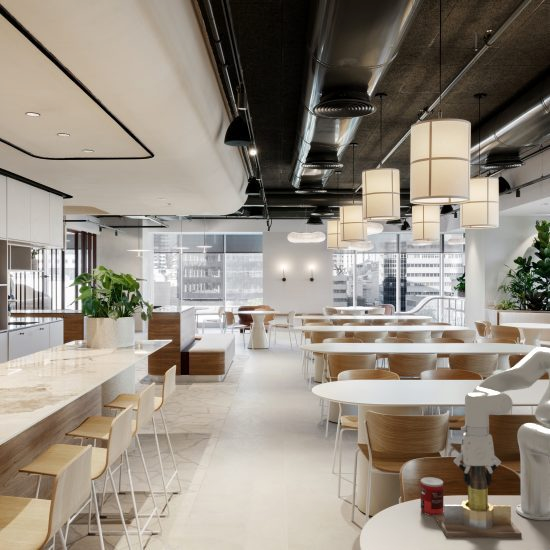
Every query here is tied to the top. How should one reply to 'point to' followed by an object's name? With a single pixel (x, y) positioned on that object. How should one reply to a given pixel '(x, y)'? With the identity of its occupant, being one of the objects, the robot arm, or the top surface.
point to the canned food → (431, 495)
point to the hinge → (477, 516)
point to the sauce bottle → (477, 489)
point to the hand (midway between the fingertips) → (477, 483)
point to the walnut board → (464, 531)
